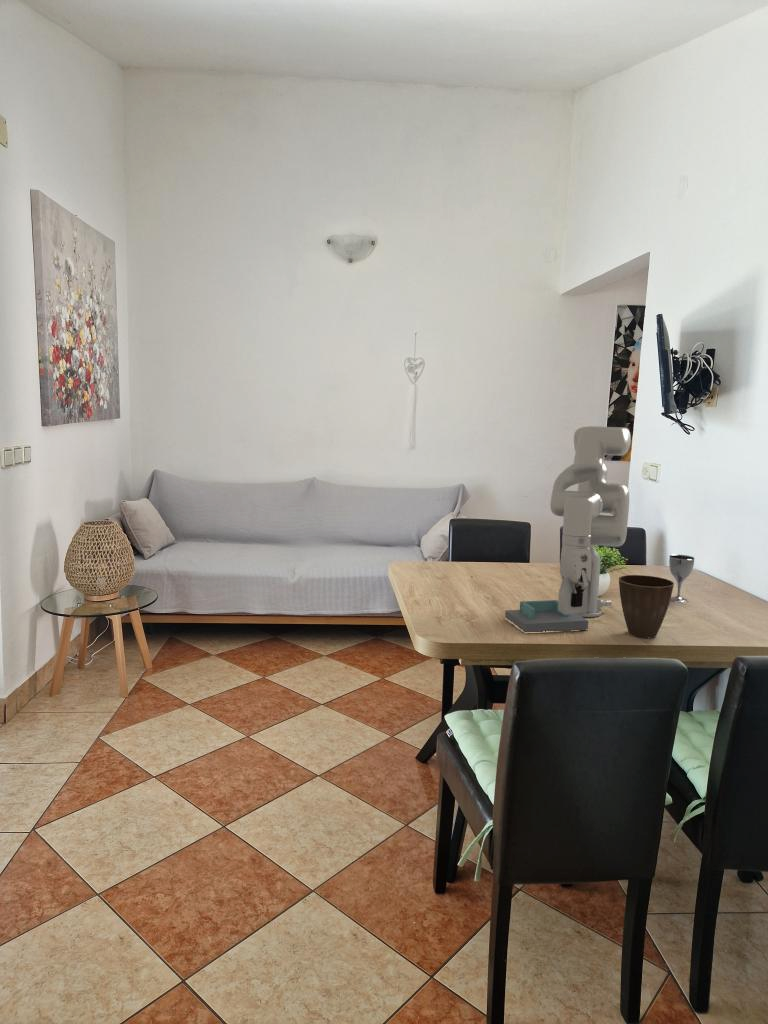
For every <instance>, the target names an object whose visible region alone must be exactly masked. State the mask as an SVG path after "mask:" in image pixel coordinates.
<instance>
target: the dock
mask: <svg viewBox="0 0 768 1024" xmlns="http://www.w3.org/2000/svg"><path fill="white" fill-rule="evenodd" d="M505 617H506V618H507V619H508V620H510V621H511V622H513V623H514V624H515V625H517V626H518V627H519V628H520V629H522V630H523V631H524V632H543V631H545V632H546V631H570V632H572V631H571V630H586V629H589V619H586V617H581V616H579V615H578V614H576V613H575V614H563V613H561V612H560V611H558V599H551V600H545V599H543V600H526V601H525V600H524V601H519V609H506V610H505V615H504V618H505Z"/></svg>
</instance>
